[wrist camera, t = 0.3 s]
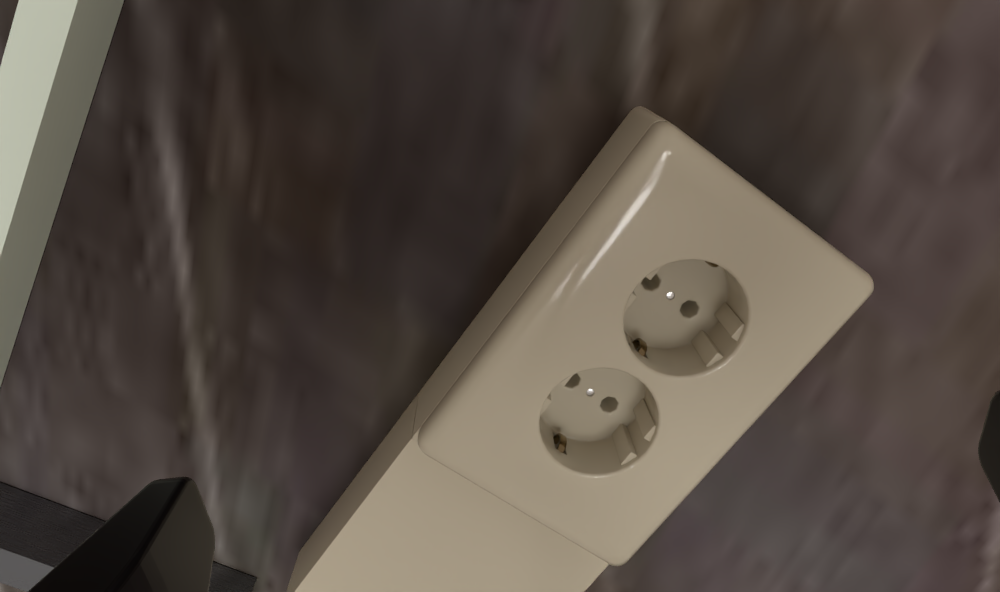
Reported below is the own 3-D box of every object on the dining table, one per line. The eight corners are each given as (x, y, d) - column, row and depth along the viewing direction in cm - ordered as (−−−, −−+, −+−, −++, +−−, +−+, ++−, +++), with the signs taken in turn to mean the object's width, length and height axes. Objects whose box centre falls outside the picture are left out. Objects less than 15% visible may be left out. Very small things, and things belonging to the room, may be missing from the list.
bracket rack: (244, 604, 27) (221, 660, 25) (-75, 487, 25) (-131, 536, 23) (554, -46, 21) (563, -52, 18) (151, -266, 19) (103, -304, 16)
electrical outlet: (272, 633, 23) (667, 118, 18) (301, 544, 27) (634, 99, 22) (475, 736, 25) (887, 287, 20) (475, 639, 29) (821, 242, 24)
